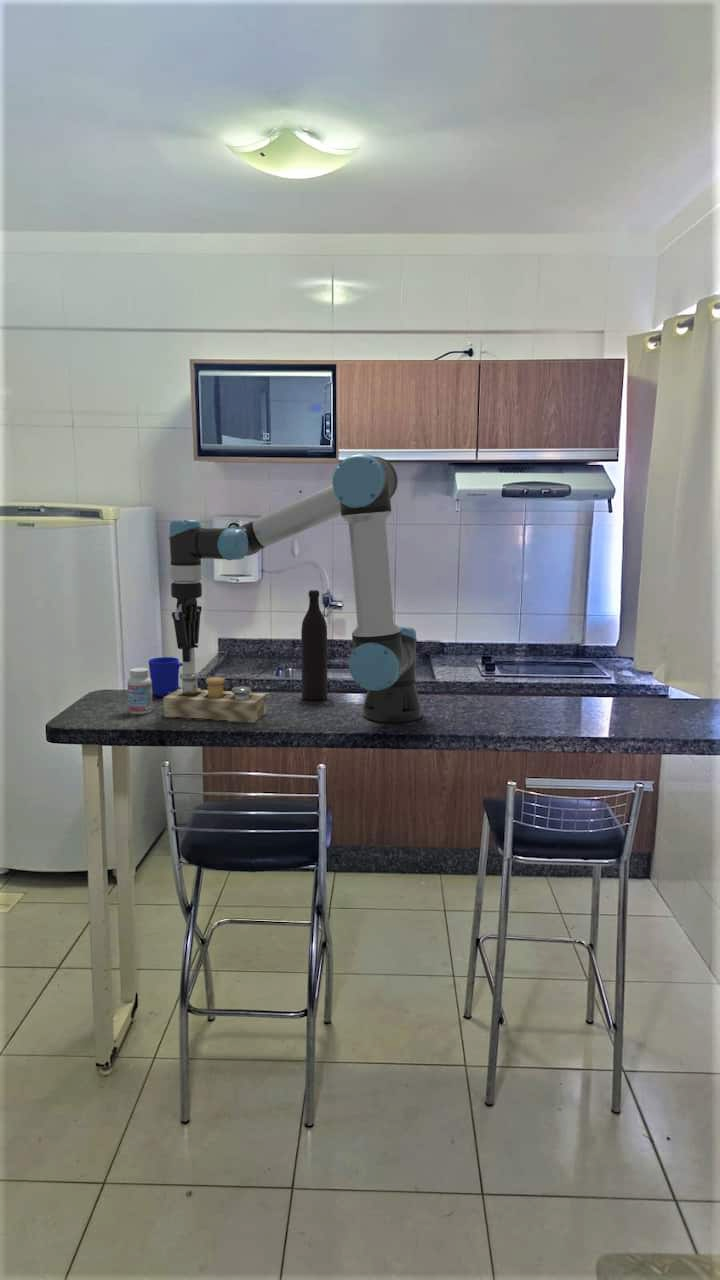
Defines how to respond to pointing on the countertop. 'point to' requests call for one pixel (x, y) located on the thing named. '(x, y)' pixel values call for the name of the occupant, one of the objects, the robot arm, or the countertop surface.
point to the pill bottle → (139, 691)
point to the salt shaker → (189, 684)
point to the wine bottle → (314, 651)
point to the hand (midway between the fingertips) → (188, 673)
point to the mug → (164, 675)
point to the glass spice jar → (241, 692)
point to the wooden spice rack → (216, 706)
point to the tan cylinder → (215, 687)
